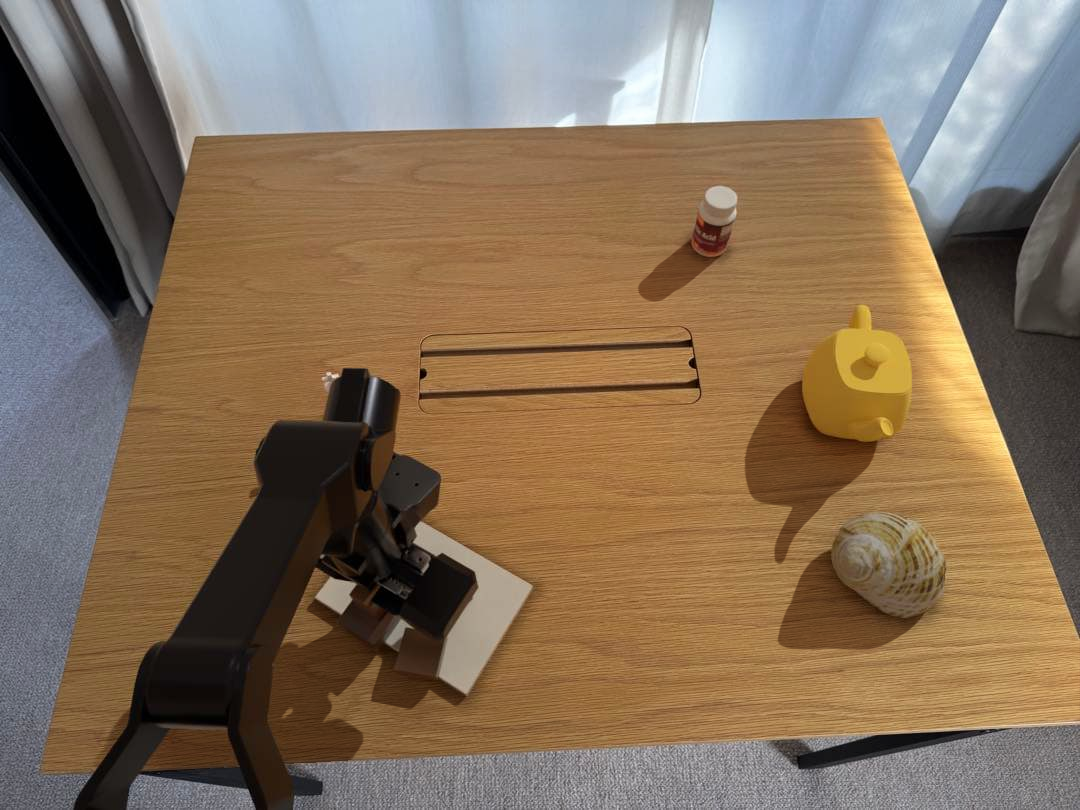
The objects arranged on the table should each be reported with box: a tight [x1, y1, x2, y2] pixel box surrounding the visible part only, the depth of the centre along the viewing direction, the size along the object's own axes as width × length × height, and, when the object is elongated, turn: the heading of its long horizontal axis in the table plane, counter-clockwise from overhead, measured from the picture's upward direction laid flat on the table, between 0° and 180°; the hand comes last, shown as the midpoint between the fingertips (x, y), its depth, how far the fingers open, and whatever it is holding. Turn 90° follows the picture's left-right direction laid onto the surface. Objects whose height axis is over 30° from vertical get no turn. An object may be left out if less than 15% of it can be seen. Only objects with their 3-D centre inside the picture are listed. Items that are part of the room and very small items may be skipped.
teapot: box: [801, 304, 913, 443], centre depth 83 cm, size 18×11×11 cm, turn 174°
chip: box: [393, 627, 448, 682], centre depth 72 cm, size 4×4×2 cm
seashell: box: [830, 511, 947, 619], centre depth 75 cm, size 10×10×10 cm
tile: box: [314, 520, 534, 697], centre depth 76 cm, size 12×18×1 cm, turn 59°
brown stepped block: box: [336, 543, 436, 653], centre depth 73 cm, size 10×4×7 cm, turn 150°
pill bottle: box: [691, 185, 738, 258], centre depth 98 cm, size 5×5×8 cm
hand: (387, 587), depth 73 cm, fingers closed on brown stepped block, 2 cm apart
